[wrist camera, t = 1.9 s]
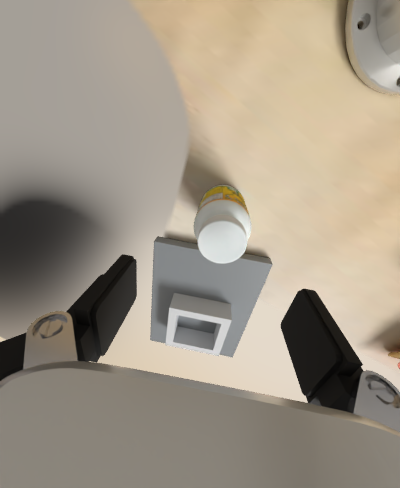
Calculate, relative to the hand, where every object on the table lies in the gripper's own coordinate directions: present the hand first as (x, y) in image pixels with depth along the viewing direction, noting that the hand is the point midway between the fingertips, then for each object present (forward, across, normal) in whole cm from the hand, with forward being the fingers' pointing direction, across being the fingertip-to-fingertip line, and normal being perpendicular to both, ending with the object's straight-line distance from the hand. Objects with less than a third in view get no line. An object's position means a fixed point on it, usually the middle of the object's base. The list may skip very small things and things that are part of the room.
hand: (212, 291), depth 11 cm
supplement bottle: (+15, 0, -1) cm, 15 cm away
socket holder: (+15, 0, +16) cm, 22 cm away
